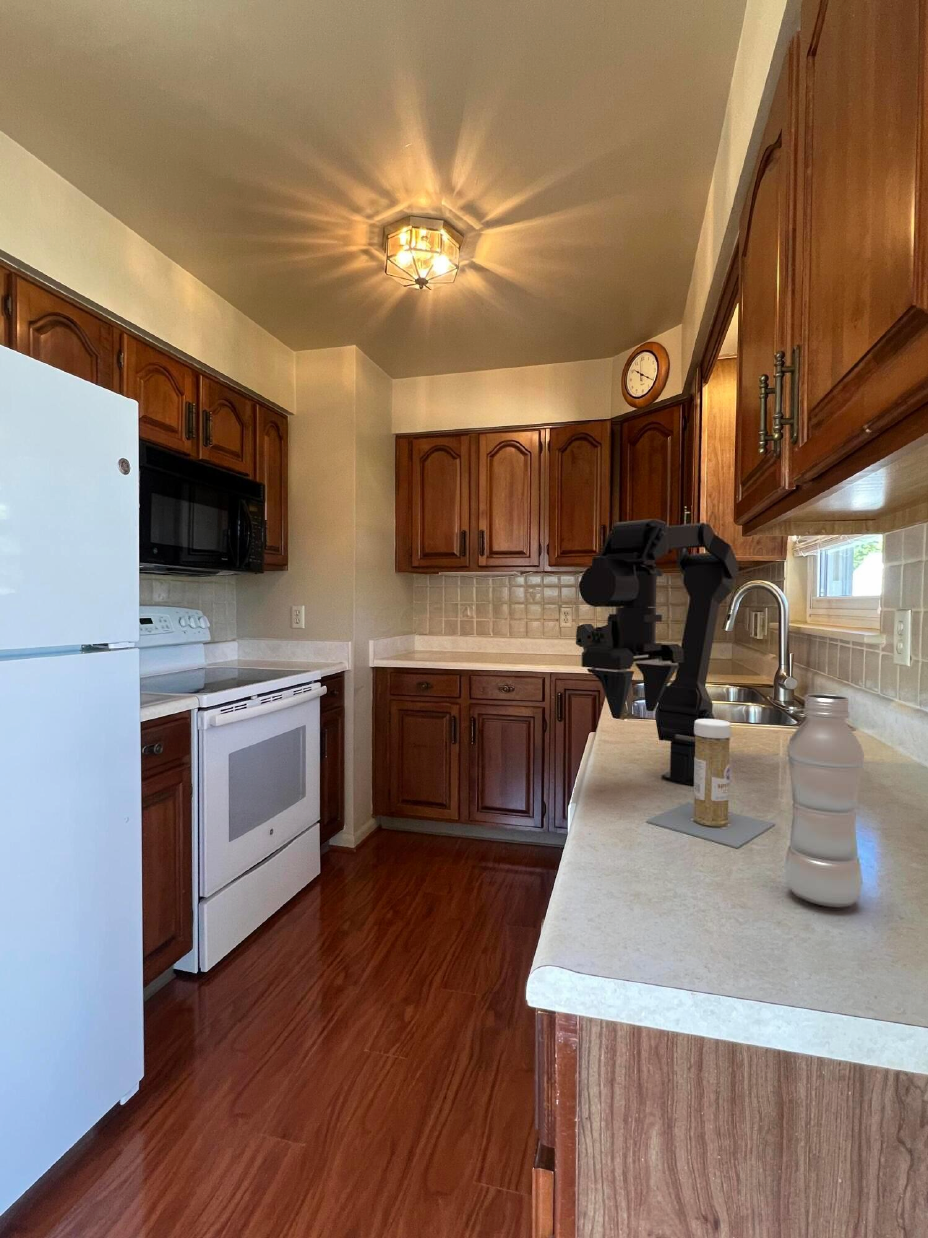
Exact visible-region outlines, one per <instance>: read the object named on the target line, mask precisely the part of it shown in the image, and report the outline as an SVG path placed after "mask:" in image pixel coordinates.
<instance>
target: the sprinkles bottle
mask: <svg viewBox="0 0 928 1238" xmlns="http://www.w3.org/2000/svg"><path fill="white" fill-rule="evenodd" d="M694 734H695V739H696V740H695V757H694V785H693V797H694V802H693V803H694V814H693V819H694V820H695V821H696V822H698V823H699V824H702V825H706V826H711V827H721V826H725V825H728V824H729V818H728V812H729V801H730V800H729V799H730V767H731V766H730V747H731V746H730V740H731V737H732V723H731V721H730V722H729V721H727V720H722V719H716V718H715V719H697V720H695V722H694Z"/></svg>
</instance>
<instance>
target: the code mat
mask: <svg viewBox="0 0 928 1238" xmlns="http://www.w3.org/2000/svg"><path fill="white" fill-rule="evenodd" d="M693 814H694V802H691V801H687V802H686V803H683V804H681V805H678V806H676V807H674V808H672V809H669V810H667V811H665V812H662V813H661V814H658V815H656V816H654V817H652V818H649V819H646V820H645V823H647V824H651V825H655V826H658V827H661V828H665V829H668V830H672V831H675V832H679V833H682V834H685V835H689V836H692V837H696V838H700V839H703V840H706V841H710V842H713V843H716V844H719V845H724V846H727V847H731V848H734V849H737V850H738V849H739V848H741V847H742V846H744V845H746V844H747V843H749V842H751V841H753V840H754V839H755V838H757V837H759V836H760V835H762V834H763V833H765V832H766V831H768V830H769V829H771V828H773V827H775V826H776V823H774V822H771V821H766V820H763V819H758V818H755V817H751V816H747V815H743V814H742V815H741V814H739V813H734V812H732V811H730V812H729V811H728V818H729V824H728V825H725V826H721V827H711V826H706V825H702V824H699V823H698V822H696V821H695V820H694V819H693Z"/></svg>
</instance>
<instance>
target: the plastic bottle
mask: <svg viewBox="0 0 928 1238" xmlns="http://www.w3.org/2000/svg"><path fill="white" fill-rule="evenodd" d="M802 714H804V715H806V717H805V721H803V722H802V724H800V725H799V727H797V729H796V730H795V731H794V732H793V734H792V735H791V737H789V742H788V743H787V748H786V749H787V750H786V751H787V752H786V754H787V757H788V759H787V761H788V762H787V763H788V767H789V774H790V775H789V776H790V781H791V799H792V819H791V821H792V822H791V829H790V838H789V845H788V848H787V852H786V857H785V862H784V873H785V879H786V880H785V881H786V884H787V886H788V887H789V888H790V890H791V891H792V892H793V894H794V895H795V896H797V897H798V898H800V899H802V900H803V901H806V902H809V903H812V904H815V905H818V906H819V905H820V906H824V907H830V908H846V907H850V906H852V905H853V904H855V902H856V901H857V900H858V899H859V898H860V896H861V891H862V888H863V883H864V882H863V876H862V875H863V874H862V867H861V862H860V858H859V857H858V856H859V854H858V842H857V841H858V839H857V829H856V820H857V812H856V810H857V807H858V795H859V789H860V783H861V778H862V772H863V765H864V759H865V758H864V757H865V754H864V749H863V747H862V744H861V743H860V741H859V740H858V738H857V736H856V735H855V733H854V732H853V731H852V730H851V728H850V727H849V725H847V722H846V719H848V718H850V712H849V697H847V696H842V695H834V694H821V693H820V694H819V693H818V694H817V693H815V694H814V693H809V694H806V695H805V698H804V708H803V712H802Z"/></svg>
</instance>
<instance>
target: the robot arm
mask: <svg viewBox="0 0 928 1238" xmlns="http://www.w3.org/2000/svg"><path fill="white" fill-rule="evenodd" d="M611 529H612V530H611V531H610V532H609V533H608V535H607V538H606V539H605V542H604V545H603V547H602V548H601V551H600V553H599V555H598V556H592V558H591V559H592V560H591V566H589V567H588V568H586V570H585V571H584V572H583V573H582V576H581V577H580V581H579V582H578V588H579V589H578V590H579V591H578V592H579V595H580V597H581V598H582V600H583V601H584V602H585V603H586V604H587V605H589V606H591V607H593V608H594V607H595V608H614V609H615V610H614V613H609V614H608V616H607V619H606V621H607V624H605V625H602V626H597V627H595V626H593V624H592V623H583V624H580V625H578V626H577V627H576V632H575V633H576V634H575V639H576V640H575V644H576V646H578V647H580V648H582V649H583V651H582V652H581V657H580V658H581V659H580V660H581V662H580V663H581V667H582V668H587V669H586V671H587V672H588V673H589V674H592V675H593V676H595V678H596V679H597V680H598V681H599V683H600V684H601V686H602V690H603V692H604V694H605V698H606V702H607V705H608V707H609V711H610V714H611V716H612V719H617V720H618V719H619V720H620V719H621V718H622V715H623V713H624V709H625V706H626V702H627V699H628V695H629V690H630V687H631V684H632V681H633V676H634V674H635V671H634V670H630V669H631V668H632V666H633V665H634V663H635V666H636V667H637V669H638V670H639V671H640V673H641V674H642V679H643V680H642V681H643V689H644V690H643V692H644V694H643V695H644V705H645V709H646V711H647V712H654V711H655V712H654V713H655V715H654V718H655V719H654V720H655V723H656V724H655V725H656V730H657V731H656V732H657V736H658V737H657V738H658V740H659V741H663V742H665V741H666V742H670V753H669V754H670V755H669V757H670V758H669V771H668V772H665V773H663V774H661V779H664V780H669V781H673V782H677V783H680V784H685V785H691V786H694V757H695V740H696V739H695V734H694V722H695V720H697V719H716V718H715V716H714V714H713V701H712V699H711V697H710V694H709V692H708V690H707V687H706V683H707V677H708V671H709V666H710V661H711V654H712V648H713V644H714V643H713V642H714V636H715V631H716V625H717V619H718V615H719V609H720V605H721V604H722V602H723V601H724V600H725V599H726V598H727V597H728V596H729V595H730V593H732V591H733V589H734V588H733V587H734V583H735V580H736V578H737V577H738V575H739V563H738V559H737V557H736V554H735V553H734V551H733V549H732V548H733V547H732V546H731V545H730V544H729V543H728V542H726V541H725V540H723V539H722V538H721V537H719V536H718V535H717V534H715V532H714V530H713V528H712V526H711V524H709V523H705V522H697V523H695V522H694V523H684V524H683V523H682V524H681V525H667V522H665V521H662V520H660V519H655V518H651V519H650V518H649V519H641V520H631V521H630V520H628V521H619V522H616V523H614V524H613V525H612V527H611ZM694 548H695V549H696V548H699V549H700V548H704V550H705V552H700V553H699V552H698V553H697V552H696V553H691V555H690V554H689V551H688V550H687V549H694ZM671 550H679V555H678V557H677V561H676V565H677V566H678V568H679V570H680V572H681V574H682V576H683V577H682V584H683V586H684V589H685V590H686V594H687V595H688V597H689V602H688V606H687V611H686V616H685V617H686V618H685V622H684V627H683V628H684V629H683V633H682V640H681V644H679V643H668V642H667V643H666V642H665V643H664V642H657V641H656V633H657V629H656V627H657V622H658V623H659V622H662V621H663V614H657V581H658V579H657V578H658V577H662V576H663V572H662V569H661V568H660V567H658V565H656V563H655V562H656V561H657V560H659V559H660V558H663V557H664V556H666V555H668V553H669V551H671ZM675 672H676V673H675ZM674 674H675V677H674V680H672V681H671V679H672V678H673V675H674ZM670 682H671V683H670Z"/></svg>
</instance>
